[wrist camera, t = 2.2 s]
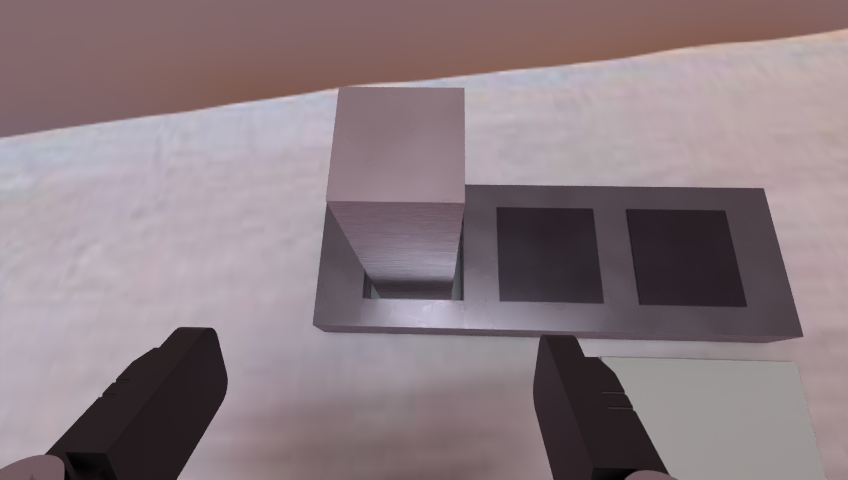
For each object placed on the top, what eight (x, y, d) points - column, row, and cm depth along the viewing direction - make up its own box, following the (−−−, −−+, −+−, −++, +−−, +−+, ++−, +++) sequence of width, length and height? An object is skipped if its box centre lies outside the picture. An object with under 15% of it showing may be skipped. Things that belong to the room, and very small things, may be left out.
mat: (790, 362, 23) (796, 362, 22) (848, 592, 19) (856, 596, 19) (599, 357, 23) (601, 356, 23) (623, 582, 20) (626, 586, 19)
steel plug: (450, 233, 26) (464, 88, 14) (450, 299, 24) (465, 202, 12) (384, 232, 26) (339, 87, 14) (380, 297, 25) (325, 201, 12)
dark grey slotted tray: (733, 207, 26) (764, 187, 23) (766, 342, 23) (805, 336, 21) (338, 201, 27) (328, 181, 24) (325, 332, 24) (312, 324, 22)
